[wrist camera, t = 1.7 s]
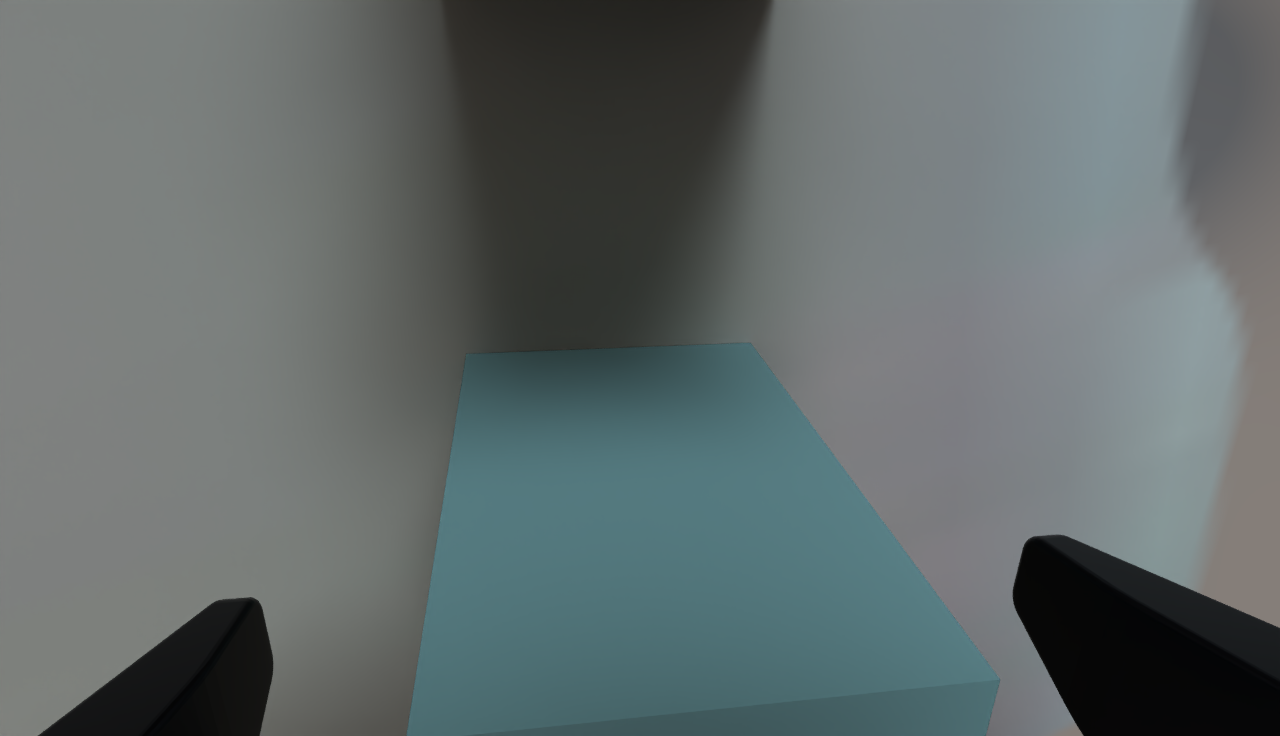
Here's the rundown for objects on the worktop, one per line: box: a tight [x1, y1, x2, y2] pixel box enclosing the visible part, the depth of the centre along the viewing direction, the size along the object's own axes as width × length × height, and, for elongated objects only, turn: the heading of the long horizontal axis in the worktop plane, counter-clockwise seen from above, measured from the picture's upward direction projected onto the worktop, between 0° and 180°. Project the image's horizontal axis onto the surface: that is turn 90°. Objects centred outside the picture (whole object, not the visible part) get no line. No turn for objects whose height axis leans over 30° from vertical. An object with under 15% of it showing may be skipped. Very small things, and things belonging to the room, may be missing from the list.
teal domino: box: [406, 343, 1000, 736], centre depth 10 cm, size 2×5×8 cm, turn 89°
